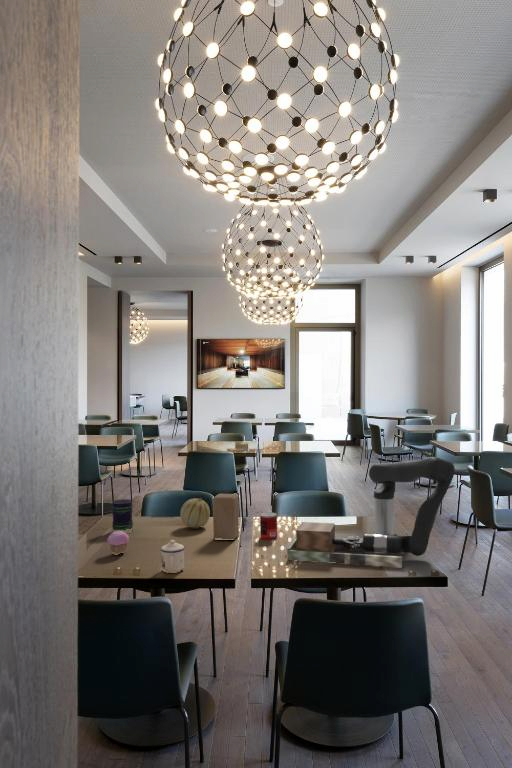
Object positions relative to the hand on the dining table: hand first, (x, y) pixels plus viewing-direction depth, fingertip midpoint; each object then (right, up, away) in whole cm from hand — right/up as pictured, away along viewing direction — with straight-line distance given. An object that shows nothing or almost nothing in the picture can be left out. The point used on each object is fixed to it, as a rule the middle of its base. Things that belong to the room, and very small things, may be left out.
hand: (333, 541), depth 248 cm
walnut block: (-7, -6, +1) cm, 9 cm away
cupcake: (-91, -8, +8) cm, 91 cm away
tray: (+5, -6, -1) cm, 8 cm away
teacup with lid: (-64, -8, -16) cm, 67 cm away
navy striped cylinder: (-97, -8, +46) cm, 108 cm away
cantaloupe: (-62, -7, +51) cm, 80 cm away
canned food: (-26, -6, +30) cm, 40 cm away
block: (-46, -7, +30) cm, 55 cm away
